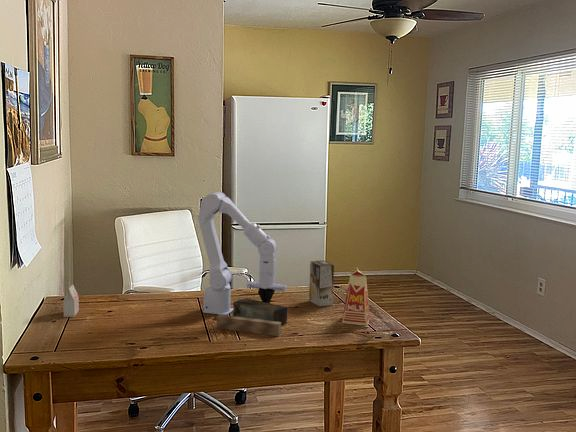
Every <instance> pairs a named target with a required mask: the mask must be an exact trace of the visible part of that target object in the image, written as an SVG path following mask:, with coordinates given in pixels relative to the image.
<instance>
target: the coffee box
mask: <svg viewBox="0 0 576 432" xmlns="http://www.w3.org/2000/svg"><path fill="white" fill-rule="evenodd" d="M334 274H335V264H332V263H330V262H328V261H327V260H326V261H325V260H314V261H312V260H311V261H310V262H309V291H308V292H309V297H308V298H309V299H308V301H309V302H311V303H312V304H314V305H315V306H318V307H326V306H327V307H328V306H333V302H334V300H333V299H334V276H335V275H334Z"/></svg>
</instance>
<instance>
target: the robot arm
mask: <svg viewBox="0 0 576 432" xmlns="http://www.w3.org/2000/svg"><path fill="white" fill-rule="evenodd" d="M218 213H220V214H227V215H228V216H229V217H231V219H232V220H234V221H235V222H236V224H238V225H239V226H240V227H241V228H242V230H243V234H244V236H245V237H246V239H248V240H249V241H250V242H251V243H252V244H253V245H254V246H255V247H256V248H257V252H258V254H259V260H258V261H259V264H258V270H259V271H258V281H248V282H246V288H247V289H258V290H257V294H258V296H259V297H260V301H261V302H266V303H271V300H272V298H273V295H274V294H275V292H276V291H277V292H278V291H279V292H284V293H285V292H287V287H288V286H287V285H286V284H285V285H284V284H282V283H281V284H279V283H276V282H275V281H276V280H275V279H276V278H275V277H276V250H277V248H278V247H277V246H278V245H277V242H276V241H275V239H274V238H273V237H271V235H269V234H267V233H265V232H264V230H262V229H261V228H262V226H261V225H260V224H257V223H256V222H250V221H249V220H248V218H247V217H246V216H245V215H244V214H243V213H242V211H240V209H239V208H238V206H236V205H235V204H234V202H233V200H232V199H231V198H229V197H228V196H227V195H226V194H225V193H224V192H222V191H218V190H217V191H214V192H213V193H208V194H206V195H205V196H204V198H202V200H201V202H200V209H199V212H198V216H197V220H198V223H199V228H200V231H201V235H202V240H203V243H204V247H205V251H206V254H207V258H208V262H209V269H208V273H209V279H208V280H209V282H208V283H209V285H210V286H206V287H205V289H204V291H203V310H202V314H203V313H205V314H213V315H227V316H228V315H229V314H230V313H231V312H233V307H231V295H232V294H231V293H232V292H231V289H232V288H231V285H230V283H231V281H232V279H233V273H232V271H231V270H230V268H229V267H228V263H226V261H225V260H224V259H225V258H224V256H223V253H222V249H221V245H220V241H219V237H218V233H217V229H216V226H215V222H214V219H215V217H216V215H217V214H218Z"/></svg>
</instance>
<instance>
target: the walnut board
mask: <svg viewBox="0 0 576 432" xmlns="http://www.w3.org/2000/svg"><path fill="white" fill-rule="evenodd" d="M216 329H219V330H220V329H221V330H227V331H236V332H243V333H251V334H258V335H268V336H273V337H274V336H276V337H279V336H280V335H282V325H281V322H276V321H268V320H260V319H252V318H244V317H235V316H233V315H228V314H227V315H220V314H217V316H216Z"/></svg>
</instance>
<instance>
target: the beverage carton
mask: <svg viewBox="0 0 576 432" xmlns="http://www.w3.org/2000/svg"><path fill="white" fill-rule="evenodd" d="M232 303H233V307H232V308H233V311H232V316H235V317H244V318H252V319H260V320H268V321H276V322H281V326H283V325H285V324H287V323H288V306H284V305H280V304H274V303H271V302H270V303H266V302H262V300H255V299H252V298H249V297H245V298H243V299H237V300H236V301H233V302H232Z"/></svg>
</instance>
